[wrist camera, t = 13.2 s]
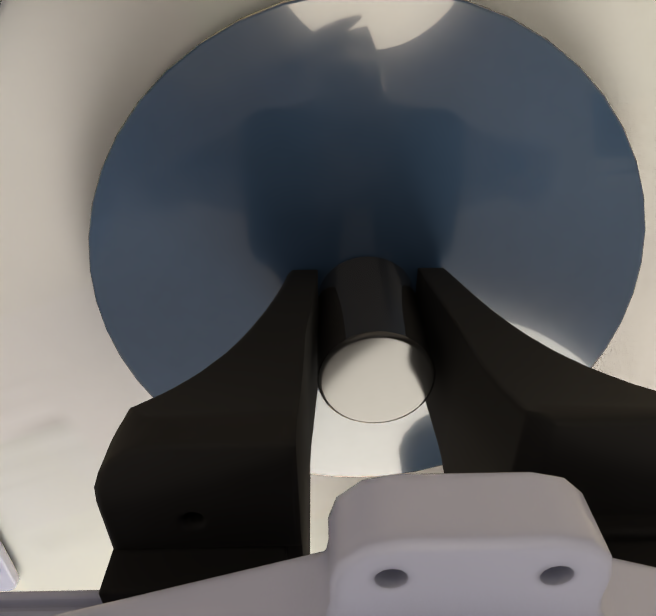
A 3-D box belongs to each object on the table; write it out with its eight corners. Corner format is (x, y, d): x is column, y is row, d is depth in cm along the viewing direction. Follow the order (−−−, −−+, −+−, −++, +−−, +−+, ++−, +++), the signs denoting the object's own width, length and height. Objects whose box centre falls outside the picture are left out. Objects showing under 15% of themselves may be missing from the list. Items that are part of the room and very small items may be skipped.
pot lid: (704, -21, 11) (885, -1, 8) (560, 447, 19) (618, 569, 15) (33, -12, 11) (-102, 11, 8) (154, 454, 19) (115, 579, 15)
